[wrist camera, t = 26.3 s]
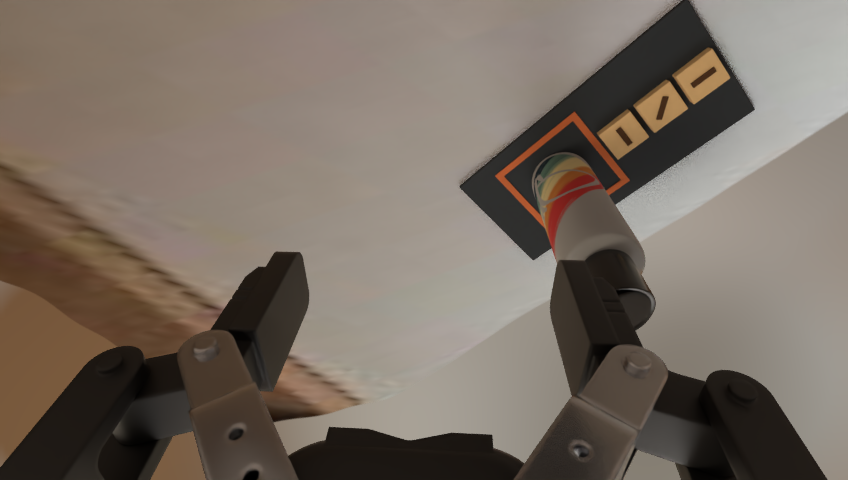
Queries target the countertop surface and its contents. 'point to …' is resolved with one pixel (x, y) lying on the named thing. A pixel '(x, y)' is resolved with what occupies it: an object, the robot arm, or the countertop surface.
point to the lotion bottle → (591, 230)
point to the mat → (619, 124)
